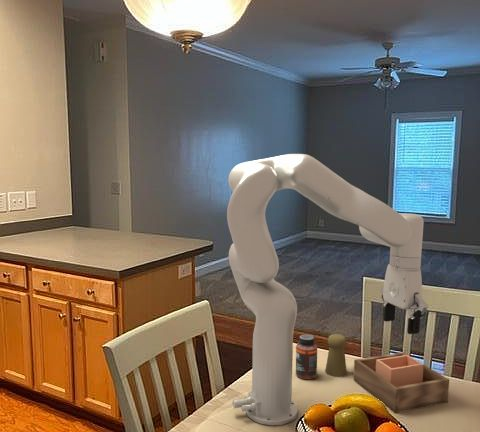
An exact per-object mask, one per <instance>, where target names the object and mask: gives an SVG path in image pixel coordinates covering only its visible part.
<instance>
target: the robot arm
mask: <svg viewBox="0 0 480 432" xmlns="http://www.w3.org/2000/svg"><path fill="white" fill-rule="evenodd" d="M228 185H229V188H230V189H231V191H232V194H231V196H230V198H229V201H228V205H227V210H226V211H227V212H226V220H227V225H228V230H229V233H230V236H231V237H230V238H231V239H232V244H230V247H229V250H228V260H229V261H228V262H229V267H230V269H231V272H232V275H233V278H234V280H235V284H236V286H237V290H238V292H239V294H240V298H241V299H242V301H243V303H244V305H245V306H246V308H248V310H250V312H252V314H254V316H255V324H254V329H253V333H252V334H253V335H252V372H251V375H252V376H251V377H252V378H251V379H252V381H251V383H252V384H251V387H252V388H251V390H249V391H248V393H247V394H248V396H245V397H244V398H237V399H236V398H235V399H232V401H231V402H232V407H233V409H238V408H240V411H241V412H242V413H243V412H245V414H246V416H247V417H248V418H250V420H252V421H253V422H255V423H259V424H261V425H265V426H266V425H268V426H279V425H280V426H281V425H286V424H289V423H290V422H293V421H294V420H295V419H296V418H297V417H298V414H299V412H298V411H299V408H298V405H297V403H296V402H294V400H292V398H293V397H292V394H293V392H292V391H293V360H294V359H293V354H294V353H293V352H294V351H293V349H294V344H293V343H294V330H295V324H296V319H297V314H298V305H297V301H296V297H295V296H294V294H293V292H291V291H290V289H288V288H287V287H286V286H285V285H283V284H282V283H280V282H278V281H276V280H275V277H276V276H277V274H278V273H279V268H280V267H279V266H280V263H279V257H278V255H277V252H276V248H275V246H274V243H273V239H272V237H271V234H270V231H269V227H268V224H267V221H266V220H267V219H266V210H267V206H268V204H269V202H270V200H271V198H272V197H273V196H274V194H275V192H277V191H281V190H282V191H283V190H285V189H290V190H295V191H296V192H298V193H299V194H300V195H301V196H303V197H305V198H307V199H308V200H310V201H311V202H313V203H314V204H316V206H319V207H320V208H321V209H323V211H325V212H326V213H328V214H330V215H331V216H333V217H335V218H338V219H341V220H344V221H346V222H349V223H351V224H355V225H357V226H358V227H359V228H358V229H359V232H360V234H361V236H362V238H365V239H366V240H367V241H369V242H372V243H375V244H380V245H383V246H386V247H389V248H390V251H389V253H390V254H389V263H388V265H387V267H386V269H385V270H386V271H385V274H384V281H383V282H384V283H383V286H380V293H381V299H382V301H383V302H382V305H383V319H382V320H383V321H384V322H392V321H393V322H394V321H395V319H396V318H395V317H396V308H399V309H401V310H404V311H405V310H407V313H408V315H409V317H408V318H407V329H406V330H407V331H406V333H407V334H408V335H414V334H415V335H416V334H419V333H420V325H421V324H420V323H421V319H423V317H424V316H425V314H426V311H427V309H429V308H428V307H429V306H428V305H429V304H427V302H426V301H425V300H424V298H423V297H422V295H423V283H422V282H423V281H422V279H423V278H422V270H421V266H422V265H421V264H422V250H423V249H422V248H423V235H424V223H425V222H424V221H425V220H424V218H423V216H421V214H416V213H405V212H404V213H399V212H398V211H396V210H395V209H394V208H392V207H391V206H389V205H388V204H386V203H384V202H383V201H381V200H380V199H378V198H376V197H374V196H372V195H370V194H368V193H367V192H365V191H364V190H361V189H360V188H358V187H357V186H355V185H353V184H351V183H349V182H348V181H347V180H345V179H344V178H342V177H341V176H340V175H338V174H337V173H335V172H334V171H333V170H332V169H330V168H329V167H328V166H326V165H324V164H323V163H322V162H320V161H319V160H317V159H316V158H315V157H314V156H311V155H309V154H306V153H305V154H304V153H287V154H282V155H277V156H272V157H267V158H261V159H256V160H250V161H249V160H248V161H244V162H241V163H239V164H236V165H235V166H234V167H233V168H231V171H230V173H229V175H228Z"/></svg>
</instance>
